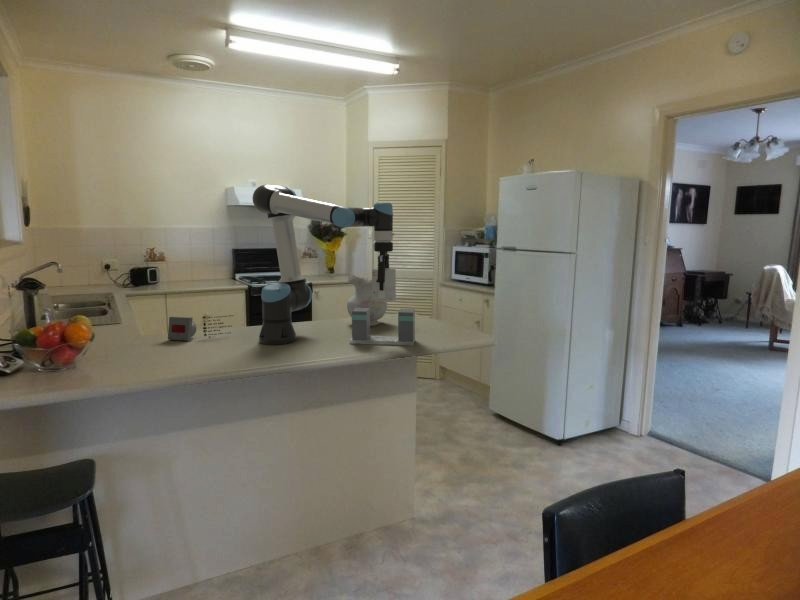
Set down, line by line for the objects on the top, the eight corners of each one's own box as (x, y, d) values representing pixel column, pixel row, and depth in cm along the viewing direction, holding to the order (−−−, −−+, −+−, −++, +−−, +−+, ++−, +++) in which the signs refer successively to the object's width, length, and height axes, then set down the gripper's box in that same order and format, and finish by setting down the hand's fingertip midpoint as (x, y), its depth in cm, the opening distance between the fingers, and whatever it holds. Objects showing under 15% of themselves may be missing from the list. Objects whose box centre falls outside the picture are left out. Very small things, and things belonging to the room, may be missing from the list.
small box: (396, 300, 209) (396, 268, 206) (383, 302, 205) (383, 270, 202) (384, 298, 215) (383, 267, 213) (371, 299, 211) (371, 268, 209)
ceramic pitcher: (376, 319, 263) (373, 271, 260) (400, 323, 248) (397, 271, 245) (340, 325, 249) (337, 274, 247) (363, 329, 234) (360, 275, 232)
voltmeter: (167, 343, 209) (165, 320, 208) (168, 337, 220) (166, 315, 218) (235, 337, 220) (234, 315, 218) (232, 332, 230) (231, 310, 229)
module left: (352, 340, 209) (351, 311, 208) (356, 335, 218) (355, 307, 216) (366, 340, 209) (366, 311, 207) (370, 335, 217) (370, 308, 215)
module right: (398, 341, 207) (398, 312, 205) (400, 336, 215) (400, 308, 213) (413, 341, 207) (413, 312, 205) (414, 337, 215) (415, 309, 213)
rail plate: (349, 343, 210) (349, 340, 209) (354, 338, 218) (354, 335, 218) (412, 345, 207) (412, 342, 206) (414, 340, 215) (414, 336, 215)
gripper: (388, 243, 194) (389, 301, 198) (396, 240, 216) (396, 292, 220) (369, 243, 195) (370, 300, 199) (378, 240, 217) (379, 292, 221)
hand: (383, 296), depth 209 cm, fingers closed on small box, 10 cm apart
